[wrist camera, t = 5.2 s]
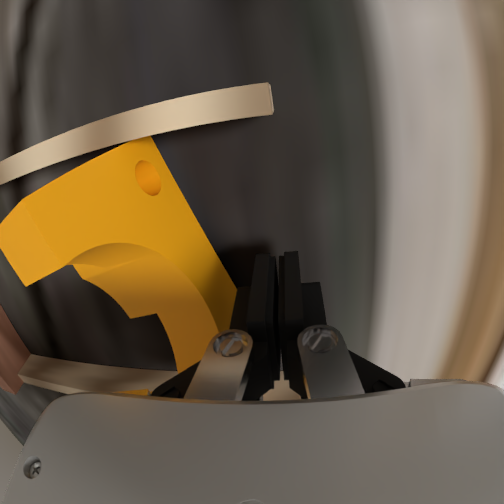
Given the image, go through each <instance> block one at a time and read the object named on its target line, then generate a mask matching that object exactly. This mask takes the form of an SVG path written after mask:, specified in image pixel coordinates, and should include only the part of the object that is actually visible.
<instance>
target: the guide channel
mask: <svg viewBox="0 0 504 504" xmlns="http://www.w3.org/2000/svg"><path fill="white" fill-rule="evenodd" d="M273 111H274V108H273V101H272V94H271V87H270V84H269V83H260V84H253V85H245V86H239V87H232V88H226V89H220V90H215V91H209V92H204V93H199V94H194V95H189V96H185V97H180V98H176V99H172V100H167V101H163V102H159V103H155V104H152V105H148V106H144V107H141V108H137V109H133V110H130V111H127V112H123V113H120V114H117V115H114V116H111V117H107V118H104V119H101V120H98V121H96V122H93V123H90V124H87V125H84V126H81V127H79V128H76V129H73V130H71V131H68V132H66V133H63V134H61V135H58V136H56V137H53V138H51V139H48V140H46V141H44V142H41V143H39V144H37V145H35V146H32V147H30V148H28V149H26V150H24V151H21V152H19V153H17V154H15V155H13V156H11V157H9V158H7V159H5V160H3V161H1V162H0V185H1V184H3V183H6V182H8V181H10V180H13V179H15V178H18V177H20V176H23V175H25V174H28V173H30V172H33V171H35V170H38V169H41V168H43V167H46V166H49V165H52V164H54V163H57V162H60V161H63V160H66V159H69V158H72V157H75V156H78V155H81V154H84V153H88V152H91V151H94V150H97V149H101V148H104V147H108V146H111V145H115V144H119V143H122V142H126V141H130V140H134V139H138V138H142V137H146V136H150V135H154V134H159V133H163V132H168V131H172V130H177V129H182V128H187V127H192V126H197V125H203V124H209V123H214V122H220V121H227V120H233V119H240V118H247V117H255V116H263V115H272V114H273ZM177 374H178V371H164V370H148V369H135V368H124V367H114V366H105V365H96V364H88V363H81V362H74V361H67V360H61V359H55V358H49V357H43V356H38V355H33V354H31V353H30V352H29V350H28V349H27V347H26V346H25V344H24V343H23V341H22V340H21V338H20V337H19V335H18V334H17V332H16V330H15V329H14V327H13V325H12V324H11V322H10V320H9V319H8V317H7V315H6V313H5V312H4V310H3V308H2V306H1V305H0V386H1V387H2V389H3V390H5V391H8V392H10V393H13V394H15V395H16V394H17V392H18V390H19V389H20V387H21V386H22V384H23V382H25V383H28V384H32V385H35V386H39V387H42V388H46V389H50V390H54V391H58V392H62V393H66V394H73V393H78V392H91V391H96V392H117V391H129V390H140V389H148V390H149V391H150V392H151V391H154V389H155V388H157V387H158V386H159V385H161V384H162V383H164V382H166V381H167V380H169V379H171V378H172V377H174V376H176V375H177ZM298 399H300V395H299V394H297V393H296V392H294V391H293V390H292V389H290V388H289V380H284V374H283V371H280V381H274V389H270V390H269V391H268V392H266V393H265V394H264V395H263V401H273V400H298Z"/></svg>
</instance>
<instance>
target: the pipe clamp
mask: <svg viewBox="0 0 504 504" xmlns="http://www.w3.org/2000/svg"><path fill="white" fill-rule="evenodd" d="M0 248H1V250H2V251H3V253H4V255H5V256H6V258H7V259H8V261H9V263H10V264H11V266H12V267H13V269H14V270H15V272H16V273H17V275H18V276H19V278H20V279H21V281H22V282H23V284H24V285H25V286H28V285H30V284H32V283H34V282H36V281H37V280H39V279H41V278H43V277H45V276H47V275H49V274H51V273H53V272H54V271H56V270H58V269H60V268H62V267H64V266H65V265H71V264H72V265H73V266H74V267H75V269H76V270H77V272H78V273H79V275H80V276H81V278H82V279H84V280H87V281H89V282H91V283H93V284H95V285H96V286H98V287H100V288H101V289H103V290H104V291H105V292H106V293H108V294H109V295H110V296H111V297H112V298H113V299H114V300H116V301H117V303H118V304H119V305H120V306H121V307H122V308H123V310H124V311H125V312H126V313H127V315H128V316H129V318H130V319H131V318H136V317H141V316H146V315H151V314H155V313H157V315H158V316H159V318H160V320H161V322H162V324H163V326H164V328H165V330H166V332H167V334H168V337H169V340H170V342H171V345H172V349H173V352H174V356H175V360H176V365H177V371H178V374H179V373H181V372H182V371H184V370H186V369H187V368H189V367H190V366H192V365H194V364H195V363H197V362H199V361H200V360H201V359H202V357H203V355H204V353H205V351H206V349H207V346H208V344H209V342H210V341H211V339H212V338H213V337H214V336H215V335H216V334H218V333H220V332H222V331H225V330H229V327H230V322H231V317H232V312H233V307H234V302H235V297H236V292H237V289H236V287H235V285H234V283H233V282H232V280H231V278H230V277H229V275H228V273H227V272H226V270H225V268H224V266H223V265H222V263H221V261H220V259H219V258H218V256H217V254H216V253H215V251H214V249H213V247H212V246H211V244H210V242H209V240H208V239H207V237H206V235H205V233H204V232H203V230H202V228H201V226H200V225H199V223H198V221H197V219H196V218H195V216H194V214H193V212H192V210H191V209H190V207H189V205H188V203H187V202H186V200H185V198H184V196H183V194H182V193H181V191H180V189H179V187H178V185H177V184H176V182H175V180H174V178H173V176H172V174H171V173H170V171H169V169H168V167H167V165H166V164H165V162H164V160H163V158H162V156H161V154H160V152H159V151H158V149H157V147H156V145H155V143H154V141H153V139H152V138H151V136H146V137H142V138H138V139H134V140H131V141H129V142H127V143H125V144H123V145H121V146H118V147H116V148H114V149H112V150H110V151H108V152H106V153H104V154H102V155H100V156H98V157H96V158H94V159H92V160H90V161H88V162H86V163H84V164H82V165H80V166H79V167H77V168H75V169H73V170H71V171H69V172H68V173H66V174H64V175H62V176H60V177H59V178H57V179H55V180H53V181H52V182H50V183H48V184H47V185H45V186H43V187H42V188H40V189H38V190H37V191H35V192H33V193H32V194H30V195H29V196H27V197H25V198H24V199H22V200H21V201H20V202H19V203H18V205H17V206H16V207H15V208H14V209H13V210H12V211H11V212H10V214H9V215H8V216H7V217H6V218H5V219H4V221H3V222H2V223H1V224H0Z"/></svg>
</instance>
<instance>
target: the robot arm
mask: <svg viewBox="0 0 504 504" xmlns="http://www.w3.org/2000/svg"><path fill="white" fill-rule="evenodd" d="M281 354H282V364H283V374H284V380H289V388H290V389H292V390H293V391H294V392H296V393H297V394H299V395H300V399H298V400H273V401H263V395H264V394H265V393H266V392H268V391H269V390H270V389H274V381H280V359H281ZM2 504H504V390H503V389H501V388H500V387H498V386H495V385H492V384H489V383H485V382H476V381H466V380H462V379H410V382H403V381H402V380H401V379H400V378H398V377H397V376H395V375H393V374H391V373H390V372H388V371H386V370H384V369H382V368H380V367H378V366H377V365H375V364H373V363H371V362H369V361H367V360H366V359H364V358H362V357H360V356H358V355H357V354H355V353H353V352H351V351H349V350H348V349H347V346H346V344H345V341H344V339H343V337H342V335H341V333H340V332H339V331H338V330H337V329H336V328H334V327H331V326H329V325H327V323H326V317H325V310H324V304H323V298H322V292H321V286H320V282H312V283H301V280H300V268H299V257H298V251H293V252H284V256H279V286H278V276H277V267H276V258H275V256H274V257H270V253H266V254H256V256H255V263H254V270H253V277H252V284H251V287H238V288H237V292H236V297H235V302H234V307H233V312H232V317H231V322H230V327H229V330H225V331H222V332H220V333H218V334H216V335H215V336H214V337H213V338H212V339H211V341H210V342H209V344H208V346H207V349H206V351H205V353H204V355H203V357H202V359H201V360H200V361H199V362H197V363H195V364H194V365H192V366H190V367H189V368H187V369H186V370H184V371H182V372H181V373H179V374H177V375H176V376H174V377H172V378H171V379H169V380H167V381H166V382H164V383H162V384H161V385H159V386H158V387H157V388H155V389H154V391H151V392H150V391H149V390H148V389H140V390H129V391H117V392H96V391H91V392H78V393H73V394H68V395H65V396H62V397H59V398H57V399H55V400H54V401H52V402H51V403H50V404H49V405H48V406H47V407H46V408H45V410H44V411H43V412H42V414H41V415H40V417H39V419H38V420H37V422H36V423H35V425H34V427H33V429H32V431H31V432H30V434H29V436H28V438H27V441H26V443H25V445H24V447H23V449H22V451H21V453H20V456H19V458H18V461H17V463H16V465H15V468H14V470H13V473H12V475H11V478H10V481H9V483H8V486H7V489H6V491H5V494H4V497H3V501H2Z"/></svg>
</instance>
